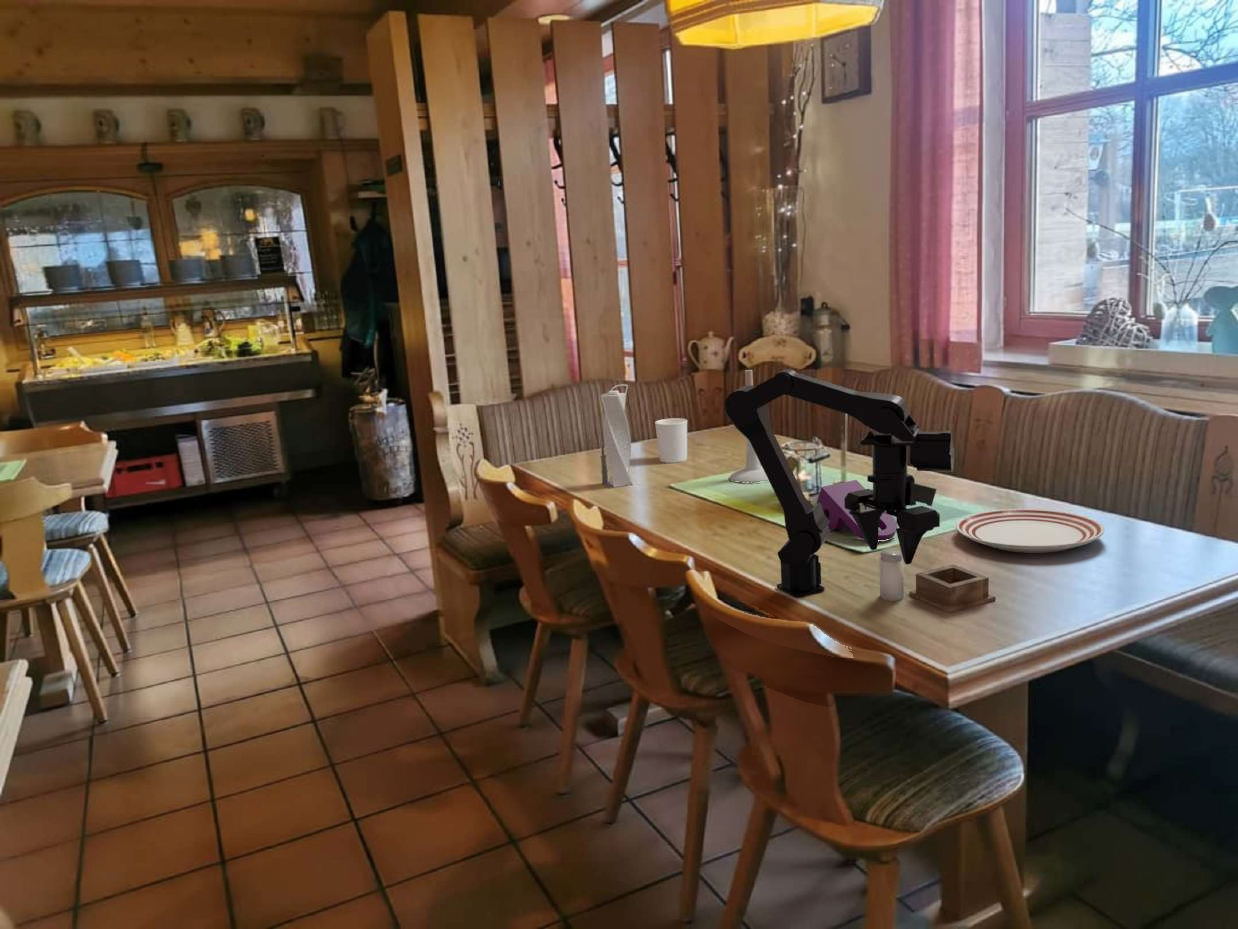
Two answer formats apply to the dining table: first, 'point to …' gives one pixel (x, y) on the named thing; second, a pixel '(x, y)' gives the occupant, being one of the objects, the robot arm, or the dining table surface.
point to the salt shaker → (891, 575)
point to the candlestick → (750, 455)
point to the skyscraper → (616, 440)
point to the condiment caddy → (952, 588)
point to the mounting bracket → (839, 515)
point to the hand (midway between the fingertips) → (890, 556)
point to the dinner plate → (1030, 529)
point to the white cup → (672, 439)
